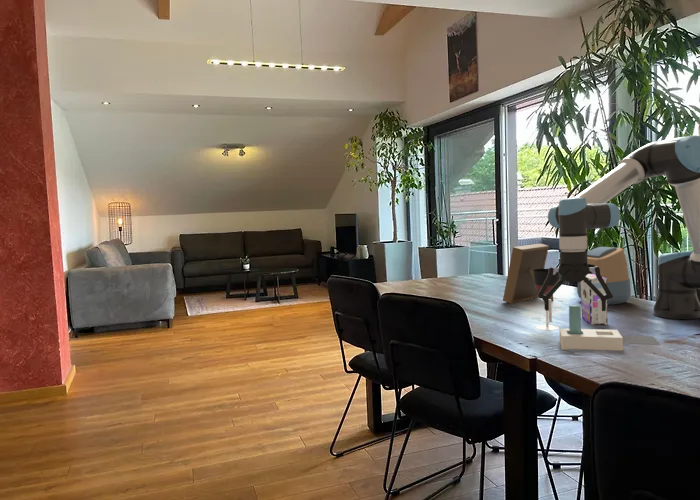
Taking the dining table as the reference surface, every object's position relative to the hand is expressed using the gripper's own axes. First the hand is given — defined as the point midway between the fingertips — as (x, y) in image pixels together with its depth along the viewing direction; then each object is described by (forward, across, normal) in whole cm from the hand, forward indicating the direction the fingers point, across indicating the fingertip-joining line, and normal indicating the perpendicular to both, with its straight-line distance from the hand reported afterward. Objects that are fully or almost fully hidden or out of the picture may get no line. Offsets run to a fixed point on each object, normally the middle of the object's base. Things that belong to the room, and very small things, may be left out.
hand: (574, 321), depth 155 cm
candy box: (+8, -9, -36) cm, 38 cm away
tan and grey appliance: (+8, -17, -76) cm, 78 cm away
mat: (+7, -18, -8) cm, 21 cm away
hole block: (+7, -4, 0) cm, 8 cm away
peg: (+7, 0, 0) cm, 7 cm away
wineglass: (+8, +7, -24) cm, 26 cm away
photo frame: (+8, +12, -77) cm, 78 cm away
